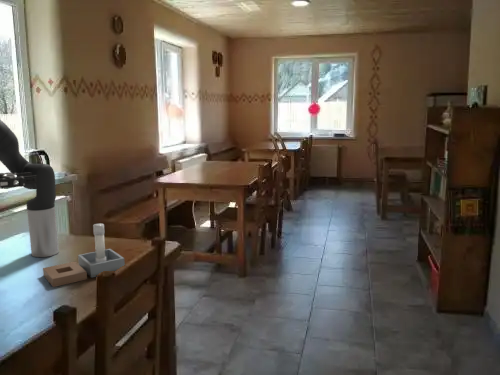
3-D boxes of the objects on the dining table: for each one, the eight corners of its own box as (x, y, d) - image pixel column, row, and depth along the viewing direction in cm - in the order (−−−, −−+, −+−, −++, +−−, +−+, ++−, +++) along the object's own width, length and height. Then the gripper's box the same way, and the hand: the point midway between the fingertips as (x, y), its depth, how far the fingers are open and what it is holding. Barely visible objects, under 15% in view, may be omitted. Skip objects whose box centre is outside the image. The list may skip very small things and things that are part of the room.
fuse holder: (43, 275, 147) (42, 268, 147) (75, 268, 153) (75, 261, 153) (53, 287, 138) (52, 279, 137) (87, 279, 144) (86, 271, 143)
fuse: (94, 265, 153) (91, 224, 151) (104, 263, 155) (101, 223, 153) (97, 268, 151) (94, 226, 148) (108, 266, 153) (105, 225, 150)
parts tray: (79, 266, 155) (78, 255, 154) (111, 259, 162) (110, 248, 161) (91, 277, 145) (90, 265, 144) (125, 269, 151) (124, 258, 151)
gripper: (-26, 173, 124) (39, 167, 134) (-32, 167, 135) (28, 162, 145) (-23, 200, 126) (41, 192, 135) (-29, 192, 137) (31, 186, 146)
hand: (34, 177), depth 140 cm, fingers open, 8 cm apart
